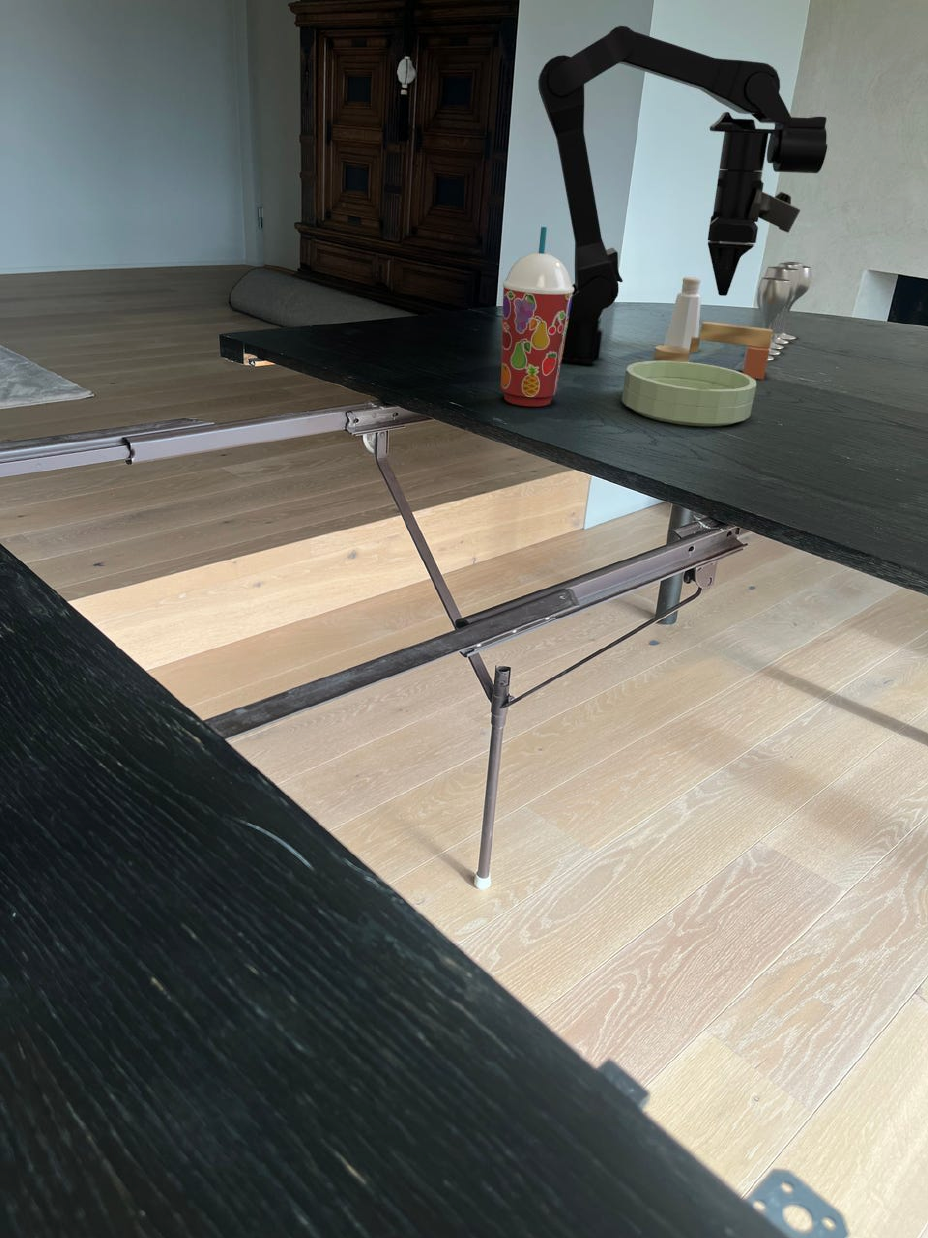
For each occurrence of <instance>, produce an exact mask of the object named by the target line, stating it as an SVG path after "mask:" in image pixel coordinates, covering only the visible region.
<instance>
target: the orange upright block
mask: <svg viewBox="0 0 928 1238" xmlns="http://www.w3.org/2000/svg"><path fill="white" fill-rule="evenodd" d="M769 349H770V348H763V347H754V346H746V345H745V351H744V356H743V360H742V361H743V362H742V366H741V373H743V374H746V375H748V376H750V377H751V378H753V379H754V380H761V381H764V379H765V375H766V369H767V364H768V361H769V360H768V356H770V355H769Z"/></svg>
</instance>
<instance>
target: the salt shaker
mask: <svg viewBox="0 0 928 1238" xmlns="http://www.w3.org/2000/svg"><path fill="white" fill-rule="evenodd" d="M701 282H702V280H701V279H700V278H699V277H694V276H685V277H683V278H682V284H681V292H679V293H677V295H676V298H675V300H674V301H675V302H674V305H673V309H672V313H671V317H670V319H669V324H668V327H667V332H666V336H665V340H664V343H663V345H666V346H677V347H682V348H686V349H688V350H690V344H691V339H692V337H699V334H700V317H701V305H702V301H701V300H702V296H701V295H700V294H698V293H699V289H700V284H701ZM691 353H693V354H694V352H691Z"/></svg>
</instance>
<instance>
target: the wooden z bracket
mask: <svg viewBox="0 0 928 1238" xmlns="http://www.w3.org/2000/svg"><path fill="white" fill-rule="evenodd" d="M773 333H774V329H773V328H772V329H769V328H768V329H765V328H763V327H755V326H747V325H738V324H730V323H720V322H712V321H704V320H703V321H701V325H700V331H699V336H698V337H692V339H691V344H690V350H688V349H686V348H682V347H677V346H666V345H664V344H663V345H656V346H655V347H654V352H653V360H652V361H682V362H690V357H691V353H692V352H693V353H696V354H697V353H699V347H700V341H704V342H705V341H706V342H714V343H721V344H731V345H739V346H745V347H746V346H754V347H763V348H769V347H770V343H771V339H772V338H773V337H772V334H773ZM769 349H770V348H769Z"/></svg>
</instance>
